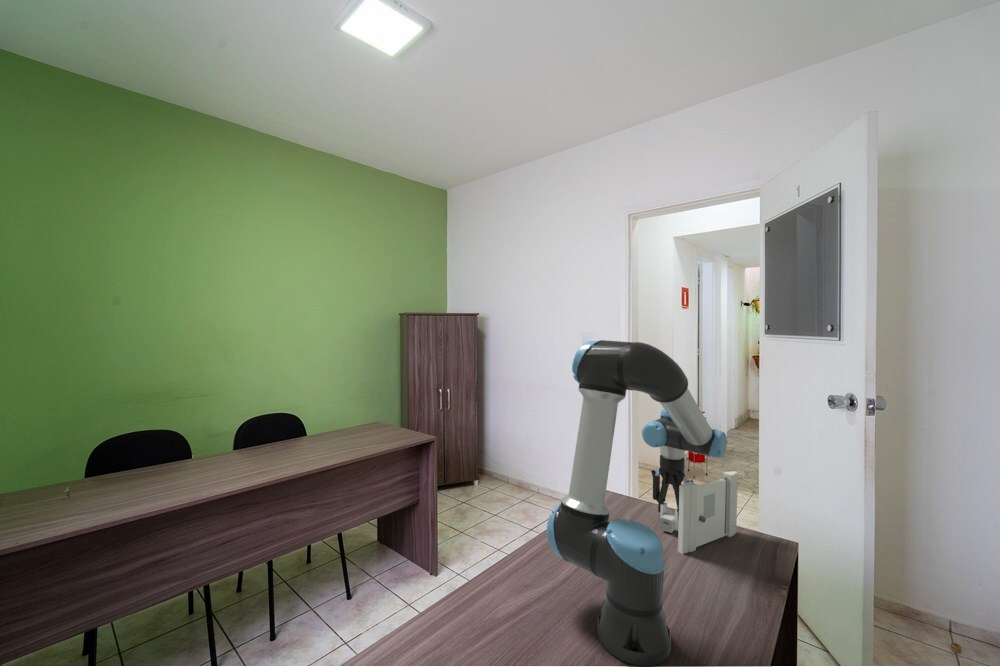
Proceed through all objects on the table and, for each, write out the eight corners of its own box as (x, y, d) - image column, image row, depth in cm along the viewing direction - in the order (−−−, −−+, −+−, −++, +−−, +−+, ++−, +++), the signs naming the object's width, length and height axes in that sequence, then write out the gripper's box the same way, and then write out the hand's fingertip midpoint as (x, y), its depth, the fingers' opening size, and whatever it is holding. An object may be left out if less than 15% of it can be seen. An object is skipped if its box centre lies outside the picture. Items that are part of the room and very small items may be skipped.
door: (719, 534, 129) (721, 478, 129) (727, 538, 127) (729, 481, 127) (691, 544, 123) (692, 486, 122) (699, 549, 121) (700, 489, 120)
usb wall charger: (660, 528, 132) (660, 516, 131) (668, 521, 137) (668, 509, 136) (672, 533, 129) (672, 521, 129) (680, 525, 134) (680, 513, 134)
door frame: (683, 555, 118) (685, 487, 118) (676, 550, 121) (677, 484, 120) (737, 533, 131) (739, 473, 130) (730, 530, 133) (731, 470, 132)
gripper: (704, 460, 128) (702, 533, 128) (654, 447, 141) (652, 512, 142) (692, 465, 123) (691, 541, 123) (641, 451, 137) (640, 519, 137)
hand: (670, 525), depth 133 cm, fingers closed on usb wall charger, 4 cm apart
